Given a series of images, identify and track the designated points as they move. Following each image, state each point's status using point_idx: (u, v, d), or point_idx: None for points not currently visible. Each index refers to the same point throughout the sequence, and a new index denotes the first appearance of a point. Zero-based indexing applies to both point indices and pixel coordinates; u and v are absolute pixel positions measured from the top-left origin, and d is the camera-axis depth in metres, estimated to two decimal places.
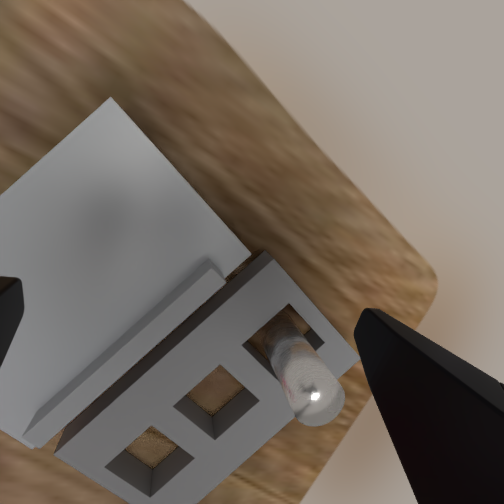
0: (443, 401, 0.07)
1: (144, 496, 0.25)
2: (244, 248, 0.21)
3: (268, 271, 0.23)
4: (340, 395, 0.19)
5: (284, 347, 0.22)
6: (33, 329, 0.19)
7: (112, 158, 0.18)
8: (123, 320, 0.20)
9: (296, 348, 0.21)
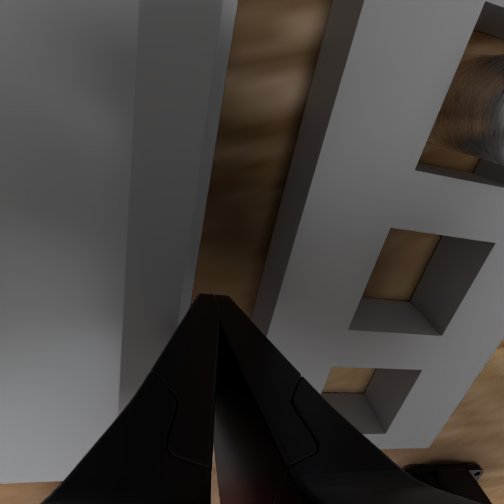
0: (236, 398, 0.06)
1: (377, 436, 0.17)
2: None
3: None
4: None
5: None
6: None
7: None
8: (110, 259, 0.09)
9: None
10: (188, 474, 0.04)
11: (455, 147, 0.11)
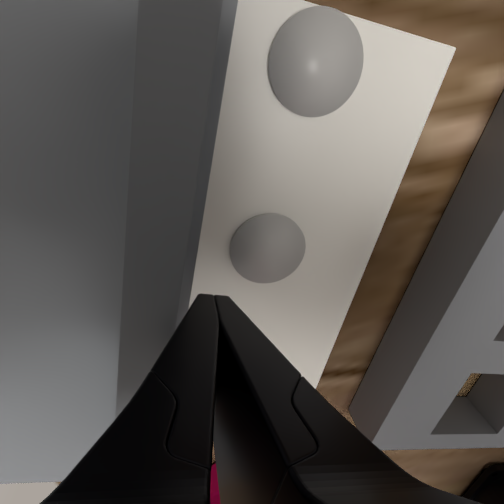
0: (237, 398, 0.06)
1: (490, 435, 0.19)
2: None
3: None
4: None
5: None
6: None
7: None
8: (109, 258, 0.09)
9: None
10: (189, 474, 0.04)
11: None
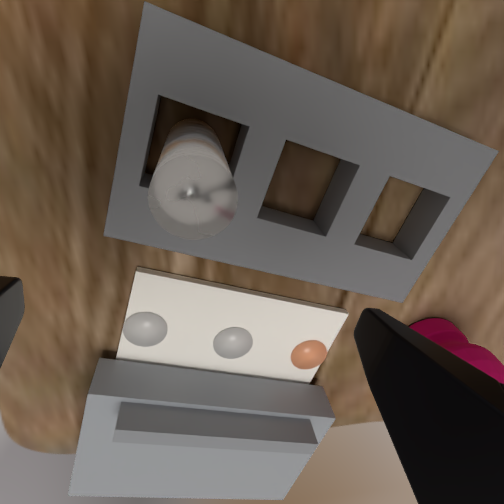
0: (443, 401, 0.07)
1: (448, 204, 0.21)
2: (88, 400, 0.22)
3: (121, 232, 0.18)
4: (164, 174, 0.11)
5: None
6: (241, 455, 0.27)
7: (101, 479, 0.26)
8: None
9: None
10: None
11: None
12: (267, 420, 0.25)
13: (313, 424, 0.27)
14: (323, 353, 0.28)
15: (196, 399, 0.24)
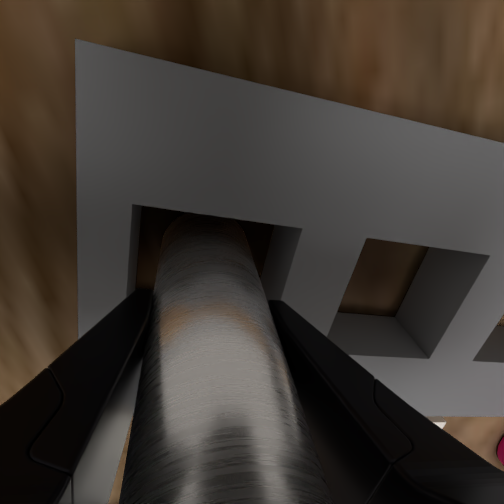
0: (314, 399, 0.06)
1: None
2: None
3: None
4: None
5: None
6: None
7: None
8: None
9: None
10: (41, 479, 0.03)
11: None
12: None
13: None
14: None
15: None
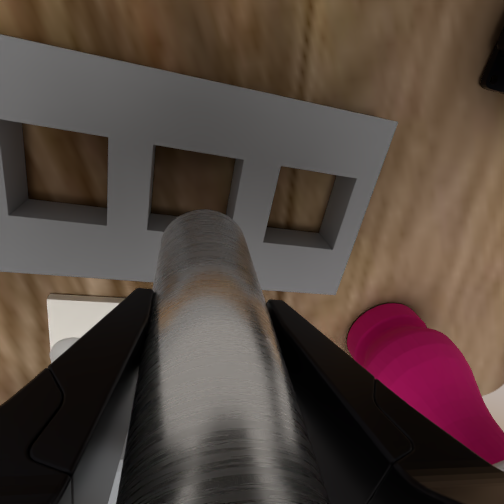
0: (313, 399, 0.06)
1: (357, 186, 0.19)
2: None
3: (5, 264, 0.18)
4: None
5: None
6: None
7: None
8: None
9: None
10: (41, 480, 0.03)
11: None
12: None
13: None
14: None
15: None
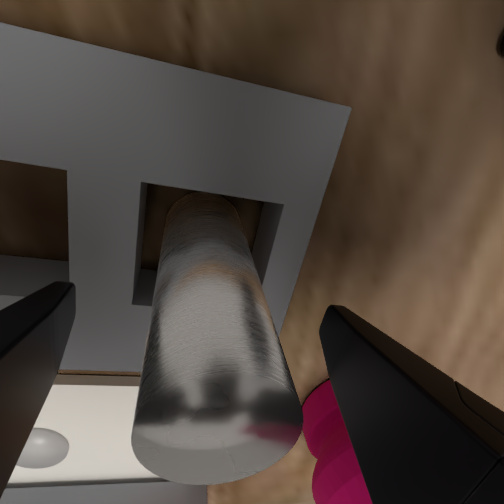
0: (396, 400, 0.07)
1: (285, 216, 0.11)
2: None
3: None
4: (158, 412, 0.05)
5: None
6: None
7: None
8: None
9: None
10: None
11: None
12: None
13: None
14: None
15: None
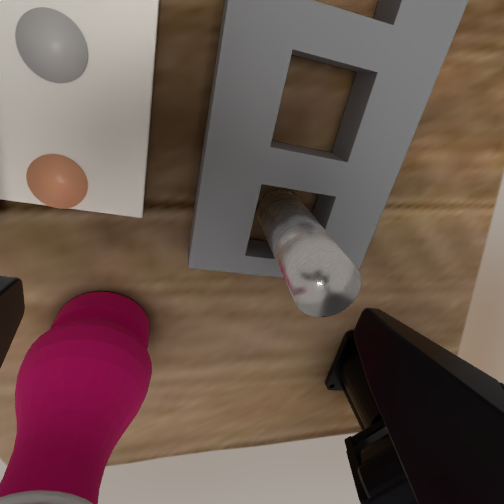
0: (443, 401, 0.07)
1: None
2: None
3: None
4: (348, 268, 0.14)
5: (275, 240, 0.17)
6: None
7: None
8: None
9: (285, 235, 0.17)
10: None
11: None
12: None
13: None
14: (67, 202, 0.19)
15: None
